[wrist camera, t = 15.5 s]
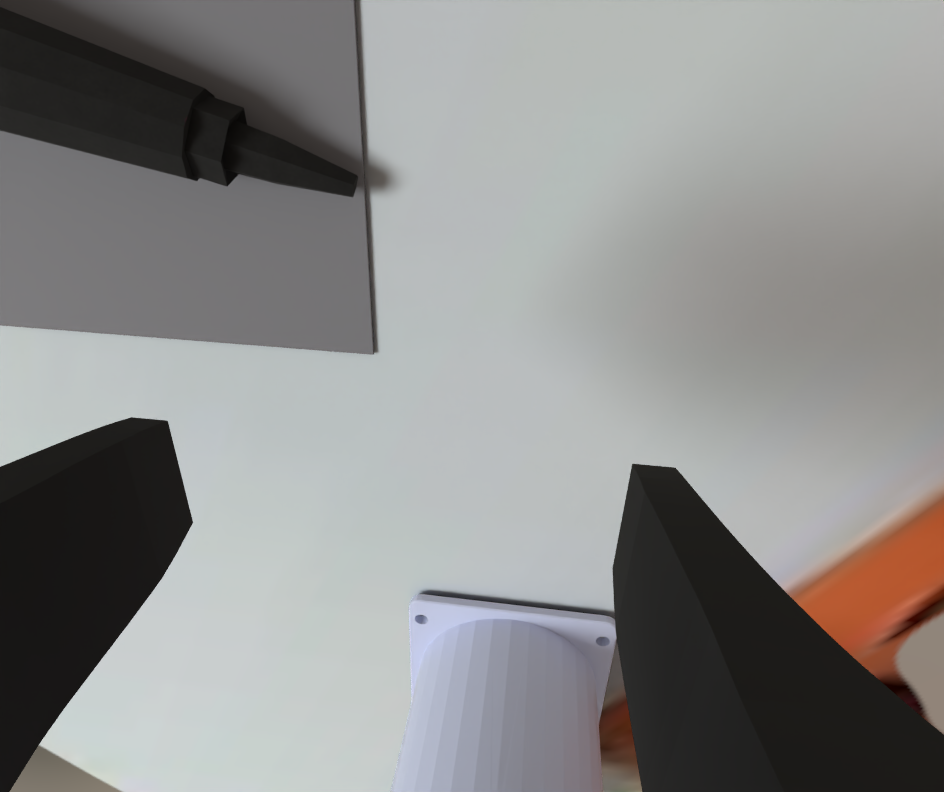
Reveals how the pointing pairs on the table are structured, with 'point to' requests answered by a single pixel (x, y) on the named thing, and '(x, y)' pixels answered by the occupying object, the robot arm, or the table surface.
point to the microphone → (140, 114)
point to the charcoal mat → (199, 189)
